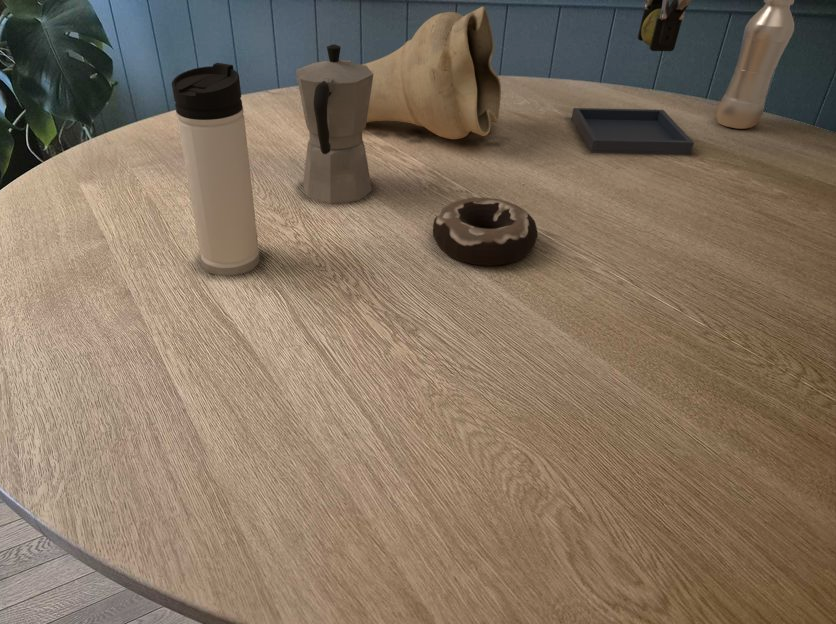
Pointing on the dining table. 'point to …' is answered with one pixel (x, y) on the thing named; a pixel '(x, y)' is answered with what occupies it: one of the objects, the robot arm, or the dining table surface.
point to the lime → (649, 26)
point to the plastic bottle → (756, 64)
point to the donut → (485, 231)
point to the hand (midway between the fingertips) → (655, 43)
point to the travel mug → (217, 167)
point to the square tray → (630, 131)
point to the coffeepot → (335, 128)
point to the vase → (440, 78)
